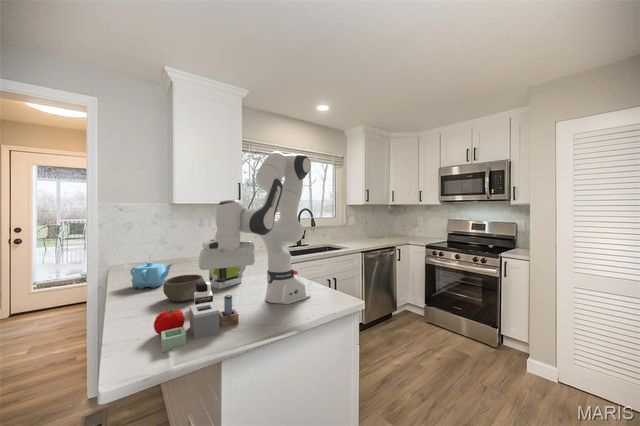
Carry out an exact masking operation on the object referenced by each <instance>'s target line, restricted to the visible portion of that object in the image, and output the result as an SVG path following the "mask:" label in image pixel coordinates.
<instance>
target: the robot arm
mask: <svg viewBox="0 0 640 426" xmlns="http://www.w3.org/2000/svg"><path fill="white" fill-rule="evenodd" d="M310 170H311V162H310V159H309V157H308V156H307V155H305V154H300V153H299V154H295V153H291V154H290V153H287V154H283V153H282V152H280V151H273V152H271V153H270V154H268V156H267V157H266V158H265V159H264V160H263V162H262V163H261V165H260V167H259V168H258V170H257V172H256V174H255V181H256V183H257V184H256V185H258V186H259V187H260V189H261V190H263V191H265V192H266V194H265V199H264V201H263V204H262V206H260V207H259V208H257V209H256V208H255V209H253V208H247V207H246V206H245V207H244V206H243V205H242V204H241V203H240V202H239V200H238V199H229V200H227V199H226V200H222V201H220V202H219V203H217V207H216V212H215V226H216V232H215V237H214V238H211V239H209V240H205V241H203V242H202V244H201V245H202V249H201V250H200V252H199V256H198V268H199V269H200V270H201V271H207V270H208V272H210V274H211V275H212V281H217V275H214V274H213V272H214V269H218V268H228V267H237V266H240V268H241V270H240V272H238V273H237V274H238V275H237V276H238V278H241V277H242V278H243V273H244V272H245V270H246V266H252V265H254V263H255V262H256V261H255V244H254V243H253V242H251V241H248V240H247V241H241V233H246V234H255V235H258V237H259V238H260V239H261V240H262V241H263V244H264V246H265V249H266V253H267V271H266V272H267V273H266V279H267V280H266V282H267V285H266V292H265V296H264V301H266V302H267V303H272V304H284V305H290V304H292V303H296V302H298V301H303V300H304V299H305V300H306V299H308V298H310V297H311V294H310V292H308V291H307V290H306V285H305V284H304V282H303V281H301V280H300V279H299V278H297V277H296V276H297V275H298V274H299V271H298V270H294V269H292V256H291V255H292V254H291V252H290V251H289V250H288V249H287V248H286V246H285V244H286V243H287V244H290V243H298V242H300V241H301V239H302V238H303V236H304V229H303V227H304V226H303V225H302V223H301V222H300V221H299V219H298V217H299V216H298V210H299V205H300V201H301V198H302V194H303V189H304V188H303V187H304V181H303V180H304V179H305V178H306V176H307V175H308V174H309V172H310ZM283 177H284V179H283ZM282 180H284V181H283V183H282ZM277 211H278V212H279V218H278V219H277V218H276V214H277V213H276V212H277ZM284 243H285V244H284Z"/></svg>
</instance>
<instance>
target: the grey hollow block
mask: <svg viewBox="0 0 640 426" xmlns="http://www.w3.org/2000/svg"><path fill="white" fill-rule="evenodd" d="M219 312H220V310H219V308H218V307H217V305H216V304H215V302H214V301H213V302H208V303H203V304H197V305H194V304H193V305H189V330H190V332H191V335H192V336H193V339H194V340H196V339H197V340H198V339H200V338H204V337H208V336H213V335H217V334H220V323H219Z"/></svg>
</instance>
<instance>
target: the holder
mask: <svg viewBox="0 0 640 426" xmlns="http://www.w3.org/2000/svg"><path fill="white" fill-rule="evenodd" d="M239 323H240V322H239V313H238V312H237V310H236V309H235V308H232V315H227V316H224V310H222V311H219V326H221V327H222V328H224V327H229V326H235V325H238V324H239Z"/></svg>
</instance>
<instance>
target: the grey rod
mask: <svg viewBox="0 0 640 426" xmlns="http://www.w3.org/2000/svg"><path fill="white" fill-rule="evenodd" d="M223 297H224V298H223V299H224V301H223V302H224V303H223V304H224V305H223V306H224V307H223V309H224V310H223V311H224V316H227V315H232V309H233V295H231V294H227V295H224V296H223Z"/></svg>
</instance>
